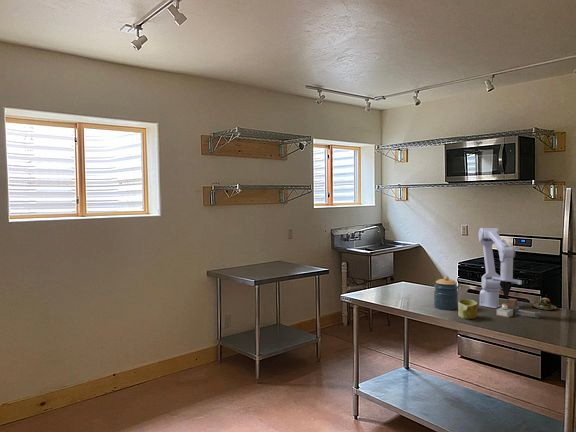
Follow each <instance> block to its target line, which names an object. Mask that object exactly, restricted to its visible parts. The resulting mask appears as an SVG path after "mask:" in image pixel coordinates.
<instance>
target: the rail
mask: <svg viewBox="0 0 576 432" xmlns="http://www.w3.org/2000/svg"><path fill="white" fill-rule="evenodd" d="M500 308H502V306H500ZM515 315H520V316H523V317H524V316H525V317H530V318H535V319H539V318H541V317H542V311H537V312H536V311H530V310H523V309H520V308H519V309H516V314H515Z"/></svg>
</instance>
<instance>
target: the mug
mask: <svg viewBox="0 0 576 432" xmlns="http://www.w3.org/2000/svg"><path fill="white" fill-rule="evenodd" d="M478 308H479V304H478V302H477V301H476V300H473V299H467V298H466V299H465V298H464V299H460V300H459V299H458V309H457V310H458V313H457V314H458V317H459V318H461V319H463V318H464V319H463V320H469V319H471V320H472V319H473V320H474V319H476V318H477V315H478Z"/></svg>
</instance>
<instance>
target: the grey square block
mask: <svg viewBox="0 0 576 432" xmlns="http://www.w3.org/2000/svg"><path fill="white" fill-rule="evenodd" d="M495 311H496V312H495V313H496V316H498V317H504V318H510V317H512V316H514V314H513V309H502V308H501V307H498V308H495Z"/></svg>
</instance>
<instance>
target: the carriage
mask: <svg viewBox="0 0 576 432" xmlns="http://www.w3.org/2000/svg"><path fill="white" fill-rule="evenodd" d="M506 304H508V309H513V315H517V314H516V309H519V310H520V306H518V299H516V298H507V300H506Z"/></svg>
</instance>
